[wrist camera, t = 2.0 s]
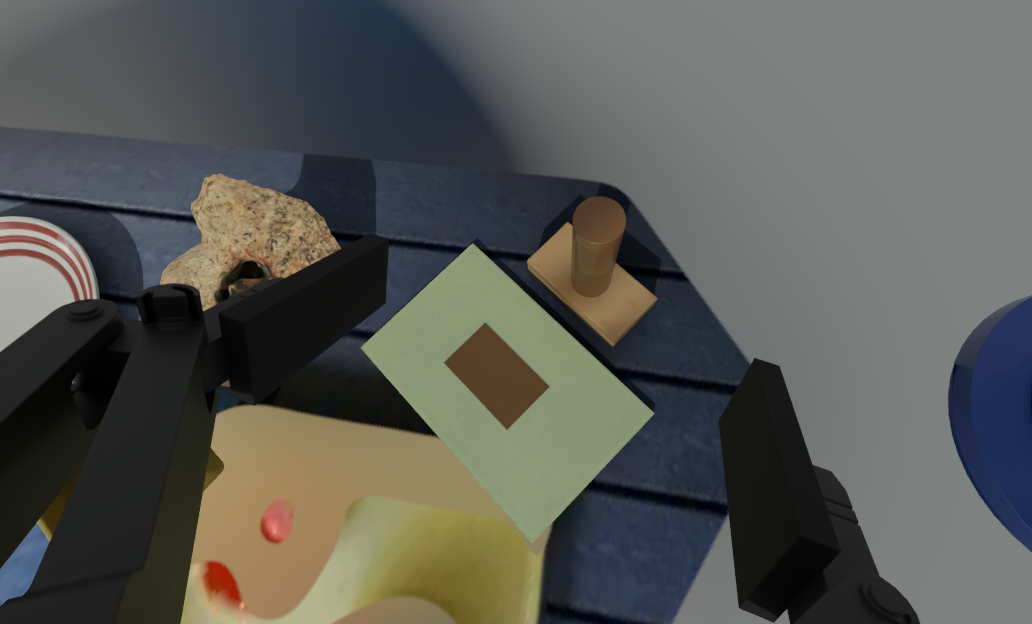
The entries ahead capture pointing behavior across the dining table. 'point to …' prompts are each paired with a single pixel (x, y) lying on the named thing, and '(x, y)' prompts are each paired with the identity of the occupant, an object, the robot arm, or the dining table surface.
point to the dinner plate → (39, 274)
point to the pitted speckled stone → (247, 240)
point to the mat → (506, 389)
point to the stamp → (593, 272)
